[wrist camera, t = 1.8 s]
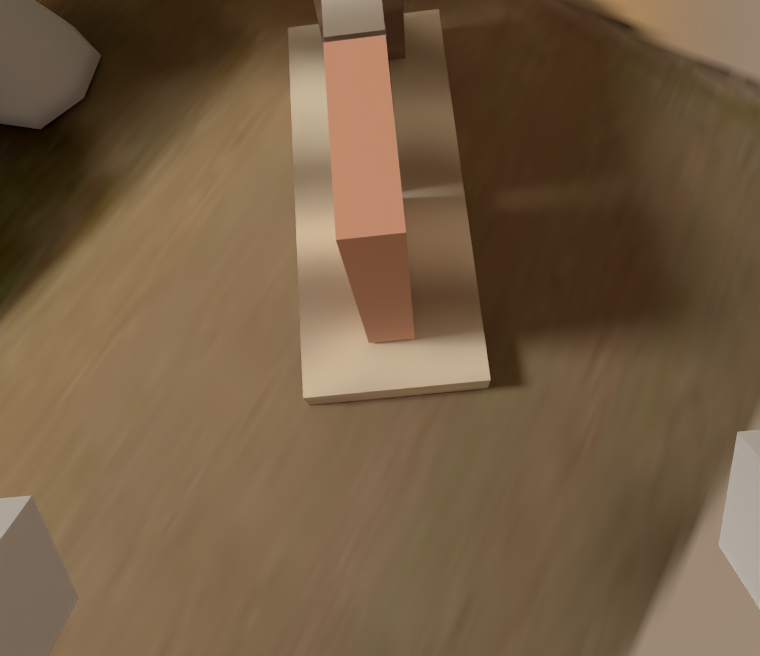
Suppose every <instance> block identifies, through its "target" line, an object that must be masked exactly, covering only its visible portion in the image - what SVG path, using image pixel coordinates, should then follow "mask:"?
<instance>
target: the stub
mask: <svg viewBox="0 0 760 656" xmlns="http://www.w3.org/2000/svg"><path fill="white" fill-rule="evenodd" d="M323 46H324V62H325V78H326V93H327V109H328V125H329V141H330V156H331V172H332V188H333V203H334V219H335V235H336V242H337V245H338V248H339V251H340V255H341V258H342V261H343V264H344V267H345V270H346V273H347V276H348V280H349V283H350V286H351V289H352V292H353V295H354V298H355V301H356V305H357V308H358V311H359V314H360V317H361V320H362V323H363V326H364V330H365V333H366V336H367V339H368V342H369V343H375V342H385V341H395V340H405V339H415V334H414V322H413V310H412V298H411V286H410V273H409V261H408V249H407V237H406V226H405V217H404V207H403V197H402V188H401V178H400V168H399V159H398V149H397V140H396V130H395V120H394V111H393V101H392V91H391V82H390V72H389V62H388V53H387V43H386V35H380V36H372V37H364V38H356V39H348V40H340V41H332V42H323Z"/></svg>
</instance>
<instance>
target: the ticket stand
mask: <svg viewBox="0 0 760 656" xmlns="http://www.w3.org/2000/svg"><path fill="white" fill-rule="evenodd" d="M313 1H314V5H315V10H316V15H317V19H318V24H314V25H305V26H297V27H289V28H288V45H289V69H290V93H291V117H292V141H293V165H294V189H295V213H296V237H297V261H298V285H299V309H300V333H301V357H302V381H303V398H304V400H305V401H306V402H307V403H308V404H309V405H316V404H326V403H337V402H347V401H358V400H368V399H379V398H389V397H400V396H410V395H421V394H431V393H442V392H452V391H463V390H473V389H484V388H488V386H489V383H490V381H491V379H490V371H489V364H488V357H487V350H486V343H485V336H484V329H483V321H482V314H481V307H480V300H479V293H478V286H477V279H476V271H475V264H474V257H473V250H472V243H471V236H470V228H469V221H468V214H467V207H466V200H465V193H464V186H463V178H462V171H461V164H460V157H459V150H458V143H457V136H456V128H455V121H454V114H453V107H452V100H451V93H450V86H449V78H448V71H447V64H446V57H445V50H444V43H443V36H442V28H441V21H440V14H439V9H434V10H426V11H418V12H410V13H403V0H313ZM380 35H386V43H387V53H388V62H389V72H390V82H391V91H392V101H393V111H394V120H395V130H396V140H397V149H398V159H399V168H400V178H401V188H402V197H403V207H404V217H405V226H406V237H407V249H408V261H409V273H410V286H411V298H412V310H413V322H414V334H415V339H405V340H395V341H385V342H375V343H369V342H368V339H367V336H366V333H365V330H364V326H363V323H362V320H361V317H360V314H359V311H358V308H357V305H356V301H355V298H354V295H353V292H352V289H351V286H350V283H349V280H348V276H347V273H346V270H345V267H344V264H343V261H342V258H341V255H340V251H339V248H338V245H337V242H336V235H335V219H334V203H333V188H332V172H331V156H330V141H329V125H328V109H327V93H326V78H325V62H324V46H323V42H332V41H340V40H348V39H356V38H364V37H372V36H380Z"/></svg>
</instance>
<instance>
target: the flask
mask: <svg viewBox="0 0 760 656" xmlns="http://www.w3.org/2000/svg"><path fill="white" fill-rule="evenodd" d="M100 57H101V55H100V54H99V53H98V52H97V51H96V50H95V49H94V47H93V46H92V45H91V44H90V43H89V42H88V41H87V40H86V39H85V38H84V37H83V36H82V35H81V34H80V32H79V31H78V30H77V29H76V28H75V27H74V26H72V25H71V24H69V23H68V22H67V21H65V20H64V19H62V18H61V17H59V16H58V15H56V14H55V13H53V12H52V11H50V10H49V9H47V8H46V7H44V6H43V5H41V4H40V3H38V2H37V1H35V0H0V124H6V125H14V126H21V127H28V128H35V129H42V128H43V127H44V126H46V125H47V124H48V123H50V122H51V121H53V120H54V119H55V118H57V117H58V116H60V115H61V114H62V113H64V112H65V111H66V110H68V109H69V108H71V107H72V106H73V105H75V104H76V103H78V102H79V101H80V100H82V99H83V98H84V96H85V94H86V92H87V89H88V87H89V84H90V82H91V79H92V77H93V74H94V72H95V70H96V67H97V65H98V62H99V60H100Z"/></svg>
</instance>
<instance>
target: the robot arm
mask: <svg viewBox="0 0 760 656" xmlns="http://www.w3.org/2000/svg"><path fill="white" fill-rule="evenodd" d="M718 545H719V547H720V549H721V550H722V552H723V553H724V555H725V556H726V558H727V559H728V561H729V563H730V564H731V566H732V567H733V569H734V570H735V572H736V574H737V575H738V577H739V578H740V580H741V581H742V583H743V584H744V586H745V588H746V589H747V591H748V592H749V594H750V596H751V597H752V599H753V600H754V602H755V603H756V605H757V606H758V608H759V610H760V430H753V431H742V432H737V438H736V444H735V450H734V456H733V461H732V467H731V473H730V479H729V485H728V491H727V497H726V503H725V509H724V514H723V520H722V526H721V532H720V538H719V544H718ZM78 598H79V597H78V595H77V593H76V591H75V589H74V587H73V584H72V582H71V580H70V578H69V576H68V573H67V571H66V569H65V567H64V565H63V562H62V560H61V558H60V556H59V554H58V552H57V549H56V547H55V545H54V543H53V541H52V538H51V536H50V534H49V532H48V530H47V528H46V525H45V523H44V521H43V519H42V517H41V514H40V512H39V510H38V508H37V506H36V504H35V501H34V499H33V497H32V496H22V497H10V498H0V656H49V654H50V652H51V650H52V648H53V646H54V644H55V642H56V640H57V638H58V636H59V634H60V633H61V631H62V629H63V627H64V625H65V623H66V621H67V619H68V617H69V615H70V613H71V611H72V609H73V607H74V605H75V603H76V601H77V599H78Z"/></svg>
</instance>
